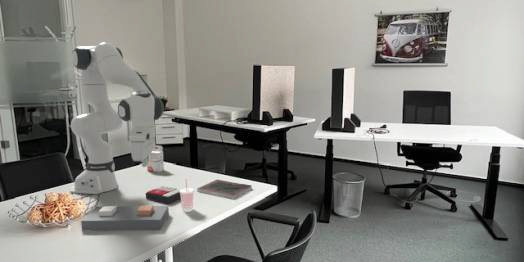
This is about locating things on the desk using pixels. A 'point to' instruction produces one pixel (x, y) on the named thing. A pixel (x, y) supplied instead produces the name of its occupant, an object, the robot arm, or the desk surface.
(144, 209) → the key terracotta
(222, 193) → the picture frame
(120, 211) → the console
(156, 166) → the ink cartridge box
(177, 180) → the desk surface
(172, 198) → the calculator
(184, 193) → the beverage cup
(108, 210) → the key white
